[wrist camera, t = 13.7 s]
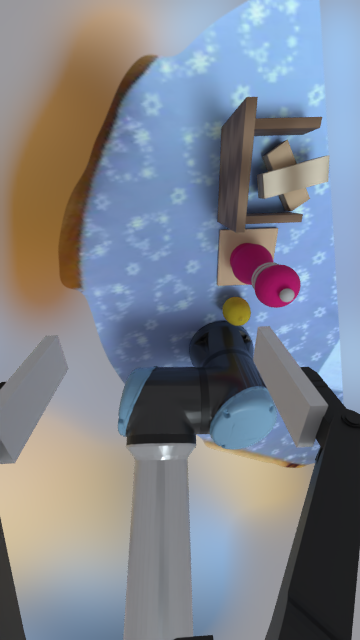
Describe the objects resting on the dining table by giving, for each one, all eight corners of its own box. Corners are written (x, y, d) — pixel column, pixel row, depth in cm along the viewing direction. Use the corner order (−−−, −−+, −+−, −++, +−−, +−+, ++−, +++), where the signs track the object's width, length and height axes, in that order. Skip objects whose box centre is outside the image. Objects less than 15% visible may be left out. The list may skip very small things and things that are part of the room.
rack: (288, 219, 45) (333, 229, 33) (217, 221, 45) (235, 232, 33) (304, 125, 39) (368, 94, 26) (221, 127, 38) (246, 97, 26)
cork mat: (268, 282, 51) (269, 283, 50) (217, 284, 51) (217, 285, 50) (276, 227, 46) (278, 228, 45) (219, 229, 46) (220, 230, 45)
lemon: (221, 290, 52) (229, 306, 45) (246, 292, 52) (258, 307, 45) (217, 313, 54) (225, 331, 47) (241, 314, 55) (252, 332, 48)
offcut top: (318, 157, 38) (329, 155, 36) (317, 181, 40) (328, 181, 38) (256, 174, 39) (263, 174, 37) (258, 198, 41) (264, 198, 38)
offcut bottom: (301, 198, 44) (309, 198, 41) (283, 210, 45) (291, 211, 42) (279, 143, 40) (287, 139, 37) (260, 157, 41) (267, 155, 38)
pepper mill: (226, 277, 49) (258, 324, 32) (228, 240, 46) (265, 271, 28) (260, 275, 49) (311, 321, 32) (265, 239, 46) (325, 268, 28)
